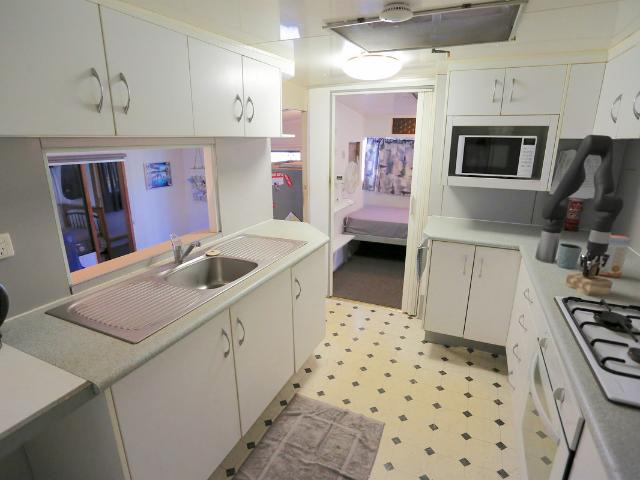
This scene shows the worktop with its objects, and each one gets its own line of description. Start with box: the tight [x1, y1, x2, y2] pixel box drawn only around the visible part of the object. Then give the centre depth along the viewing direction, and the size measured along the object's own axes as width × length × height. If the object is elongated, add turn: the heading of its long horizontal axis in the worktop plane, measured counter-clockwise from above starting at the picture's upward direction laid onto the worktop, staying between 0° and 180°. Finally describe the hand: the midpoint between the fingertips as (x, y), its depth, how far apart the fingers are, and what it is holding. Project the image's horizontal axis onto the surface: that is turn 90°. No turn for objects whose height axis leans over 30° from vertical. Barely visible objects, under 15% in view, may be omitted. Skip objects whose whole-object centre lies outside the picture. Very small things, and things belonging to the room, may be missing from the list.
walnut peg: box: [585, 263, 598, 280], centre depth 166 cm, size 3×3×11 cm
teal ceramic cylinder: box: [556, 243, 583, 270], centre depth 196 cm, size 10×10×12 cm
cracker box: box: [587, 234, 631, 279], centre depth 184 cm, size 14×6×21 cm, turn 73°
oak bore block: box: [564, 271, 614, 297], centre depth 167 cm, size 12×12×6 cm
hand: (590, 275), depth 166 cm, fingers open, 5 cm apart
